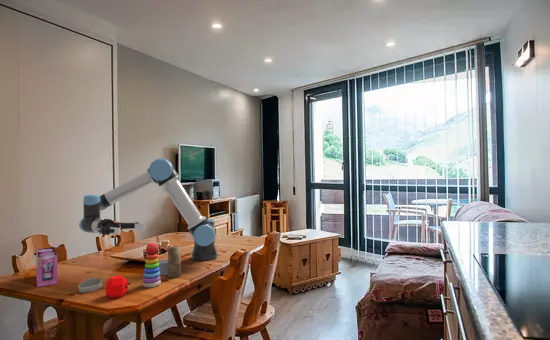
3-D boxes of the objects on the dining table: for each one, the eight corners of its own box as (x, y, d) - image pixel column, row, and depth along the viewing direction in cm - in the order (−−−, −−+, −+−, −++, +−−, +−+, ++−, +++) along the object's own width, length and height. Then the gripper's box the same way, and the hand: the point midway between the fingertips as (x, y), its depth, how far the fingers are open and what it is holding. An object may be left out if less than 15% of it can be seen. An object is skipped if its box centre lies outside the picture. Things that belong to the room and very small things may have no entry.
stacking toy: (154, 288, 141) (154, 245, 141) (138, 287, 142) (137, 245, 143) (164, 282, 149) (163, 241, 149) (148, 281, 150) (148, 241, 151)
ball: (128, 297, 132) (128, 278, 132) (106, 301, 128) (105, 281, 128) (126, 291, 139) (126, 273, 139) (105, 294, 135) (105, 276, 135)
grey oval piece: (100, 285, 146) (100, 274, 146) (103, 289, 141) (103, 278, 142) (77, 290, 141) (77, 279, 141) (79, 294, 136) (79, 282, 136)
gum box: (58, 284, 149) (58, 255, 149) (37, 288, 144) (36, 258, 145) (55, 272, 168) (54, 246, 168) (36, 276, 163) (35, 249, 164)
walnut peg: (180, 273, 162) (180, 245, 162) (181, 277, 156) (180, 248, 156) (168, 275, 160) (167, 246, 160) (168, 278, 154) (167, 249, 154)
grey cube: (168, 271, 167) (168, 259, 167) (168, 274, 161) (168, 262, 161) (156, 272, 165) (156, 260, 165) (155, 276, 159) (155, 263, 159)
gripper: (125, 229, 174) (153, 232, 164) (79, 238, 152) (108, 241, 142) (125, 215, 174) (153, 217, 164) (79, 222, 152) (108, 224, 142)
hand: (132, 229), depth 153 cm, fingers open, 13 cm apart
